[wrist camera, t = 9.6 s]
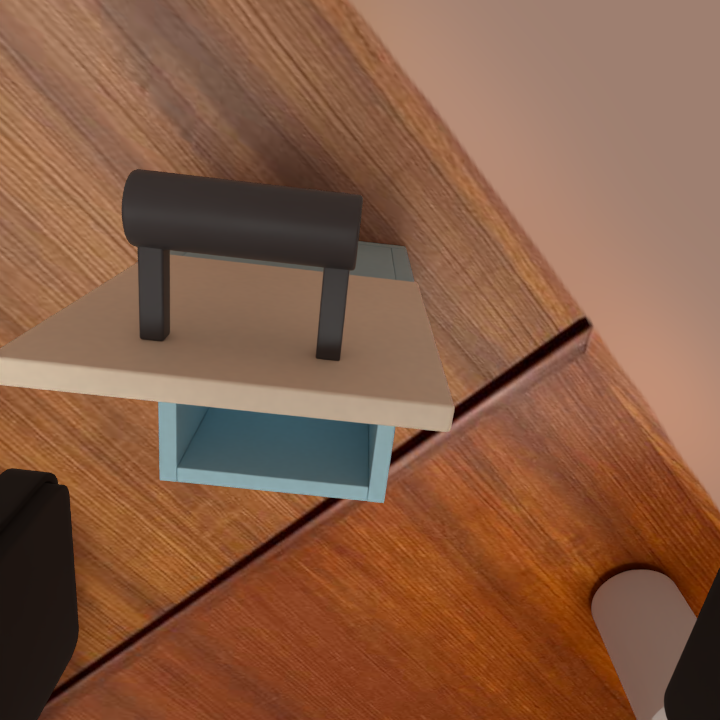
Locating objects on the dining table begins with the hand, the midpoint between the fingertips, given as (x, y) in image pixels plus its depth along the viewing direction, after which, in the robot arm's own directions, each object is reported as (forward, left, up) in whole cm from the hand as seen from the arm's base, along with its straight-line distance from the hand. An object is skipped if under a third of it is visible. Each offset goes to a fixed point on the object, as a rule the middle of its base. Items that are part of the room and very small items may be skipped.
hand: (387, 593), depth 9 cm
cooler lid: (+4, -1, -13) cm, 14 cm away
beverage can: (-3, +33, -29) cm, 44 cm away
